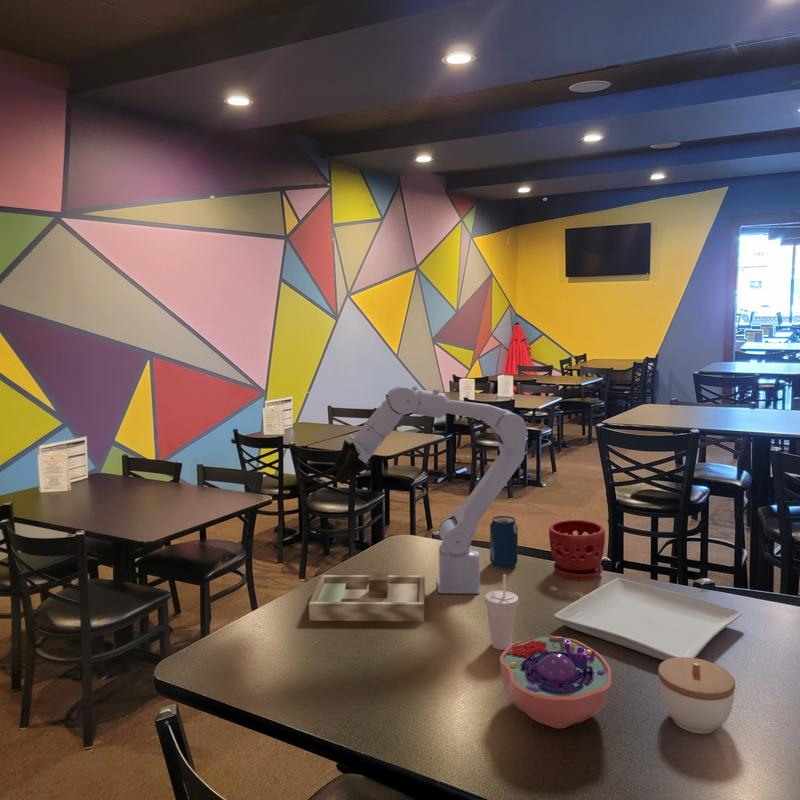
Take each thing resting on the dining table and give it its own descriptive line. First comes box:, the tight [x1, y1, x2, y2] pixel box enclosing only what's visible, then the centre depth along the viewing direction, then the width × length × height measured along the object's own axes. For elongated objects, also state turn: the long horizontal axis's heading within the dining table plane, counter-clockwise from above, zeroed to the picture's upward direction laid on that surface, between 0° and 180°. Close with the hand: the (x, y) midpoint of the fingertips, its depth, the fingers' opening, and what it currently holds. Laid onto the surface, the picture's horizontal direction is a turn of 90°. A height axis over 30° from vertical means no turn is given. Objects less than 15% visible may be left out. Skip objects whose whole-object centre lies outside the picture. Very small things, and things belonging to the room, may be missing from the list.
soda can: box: [489, 515, 519, 570], centre depth 169 cm, size 7×7×12 cm
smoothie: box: [484, 573, 519, 651], centre depth 126 cm, size 6×6×14 cm
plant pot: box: [548, 519, 606, 581], centre depth 162 cm, size 13×13×12 cm
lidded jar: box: [657, 657, 736, 735], centre depth 101 cm, size 11×11×9 cm
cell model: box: [499, 635, 612, 729], centre depth 104 cm, size 17×20×11 cm
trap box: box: [308, 574, 426, 622], centre depth 146 cm, size 24×16×4 cm, turn 87°
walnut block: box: [369, 572, 389, 598], centre depth 145 cm, size 4×4×4 cm
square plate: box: [553, 577, 743, 661], centre depth 133 cm, size 27×27×4 cm
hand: (337, 476), depth 150 cm, fingers open, 7 cm apart
